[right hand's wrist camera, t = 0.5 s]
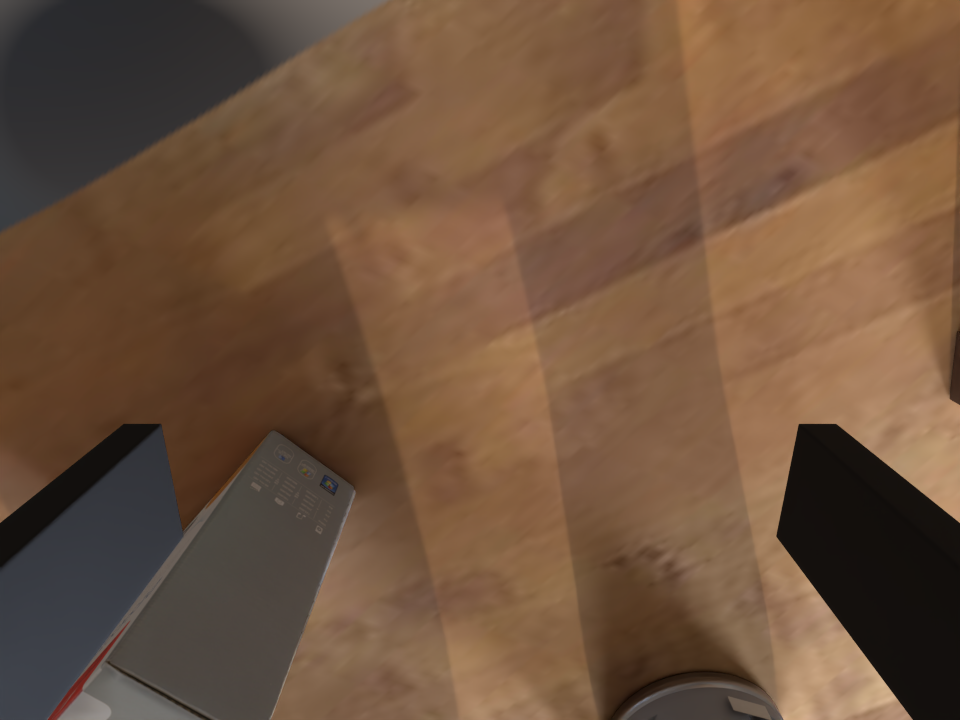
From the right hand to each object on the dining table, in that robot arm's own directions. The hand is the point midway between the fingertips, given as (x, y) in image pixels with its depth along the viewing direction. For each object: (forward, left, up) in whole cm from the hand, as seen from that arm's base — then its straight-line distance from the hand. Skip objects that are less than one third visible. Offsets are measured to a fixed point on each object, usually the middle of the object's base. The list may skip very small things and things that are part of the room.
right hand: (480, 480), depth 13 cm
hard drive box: (-17, +20, -27) cm, 38 cm away
